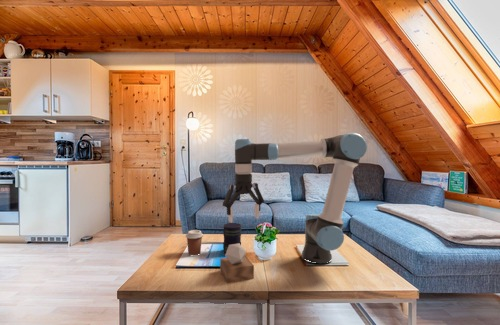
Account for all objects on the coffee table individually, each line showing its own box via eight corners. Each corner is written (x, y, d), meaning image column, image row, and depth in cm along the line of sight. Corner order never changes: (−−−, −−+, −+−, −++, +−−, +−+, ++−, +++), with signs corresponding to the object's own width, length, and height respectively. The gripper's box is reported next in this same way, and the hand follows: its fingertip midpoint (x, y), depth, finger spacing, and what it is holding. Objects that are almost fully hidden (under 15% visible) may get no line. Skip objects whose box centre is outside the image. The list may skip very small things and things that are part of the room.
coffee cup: (182, 253, 144) (182, 231, 143) (197, 249, 150) (197, 228, 149) (190, 258, 137) (190, 235, 136) (206, 254, 143) (206, 232, 142)
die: (244, 268, 114) (251, 246, 118) (226, 260, 111) (234, 238, 116) (236, 268, 120) (243, 247, 125) (219, 260, 118) (227, 240, 123)
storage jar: (224, 256, 140) (224, 228, 140) (221, 250, 150) (222, 223, 149) (242, 254, 142) (243, 227, 142) (239, 248, 152) (239, 222, 152)
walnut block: (245, 268, 126) (245, 255, 126) (253, 279, 115) (253, 265, 115) (220, 271, 123) (220, 258, 122) (226, 283, 111) (226, 269, 111)
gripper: (262, 171, 130) (262, 215, 131) (214, 174, 118) (215, 222, 118) (271, 172, 124) (271, 218, 124) (221, 175, 111) (222, 225, 112)
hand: (244, 220), depth 121 cm, fingers open, 13 cm apart
